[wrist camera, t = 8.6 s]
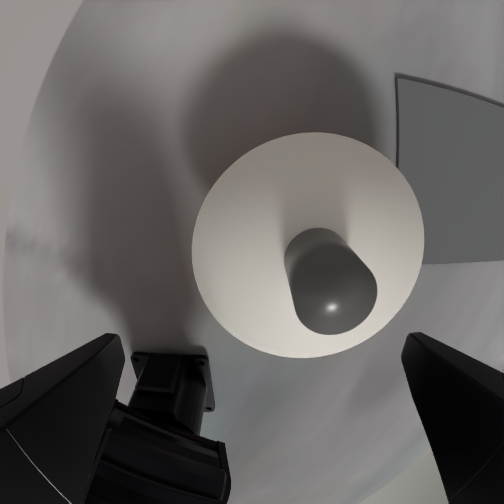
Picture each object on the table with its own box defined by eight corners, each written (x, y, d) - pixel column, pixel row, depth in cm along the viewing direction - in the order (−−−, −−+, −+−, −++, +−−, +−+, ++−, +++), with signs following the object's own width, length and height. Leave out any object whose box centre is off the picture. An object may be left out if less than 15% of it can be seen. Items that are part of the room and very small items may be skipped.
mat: (504, 258, 20) (506, 260, 20) (388, 264, 20) (389, 265, 20) (517, 114, 16) (519, 114, 16) (395, 78, 16) (397, 77, 16)
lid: (397, 340, 17) (428, 390, 13) (205, 351, 17) (193, 410, 13) (425, 142, 13) (482, 147, 9) (187, 135, 13) (156, 131, 9)
